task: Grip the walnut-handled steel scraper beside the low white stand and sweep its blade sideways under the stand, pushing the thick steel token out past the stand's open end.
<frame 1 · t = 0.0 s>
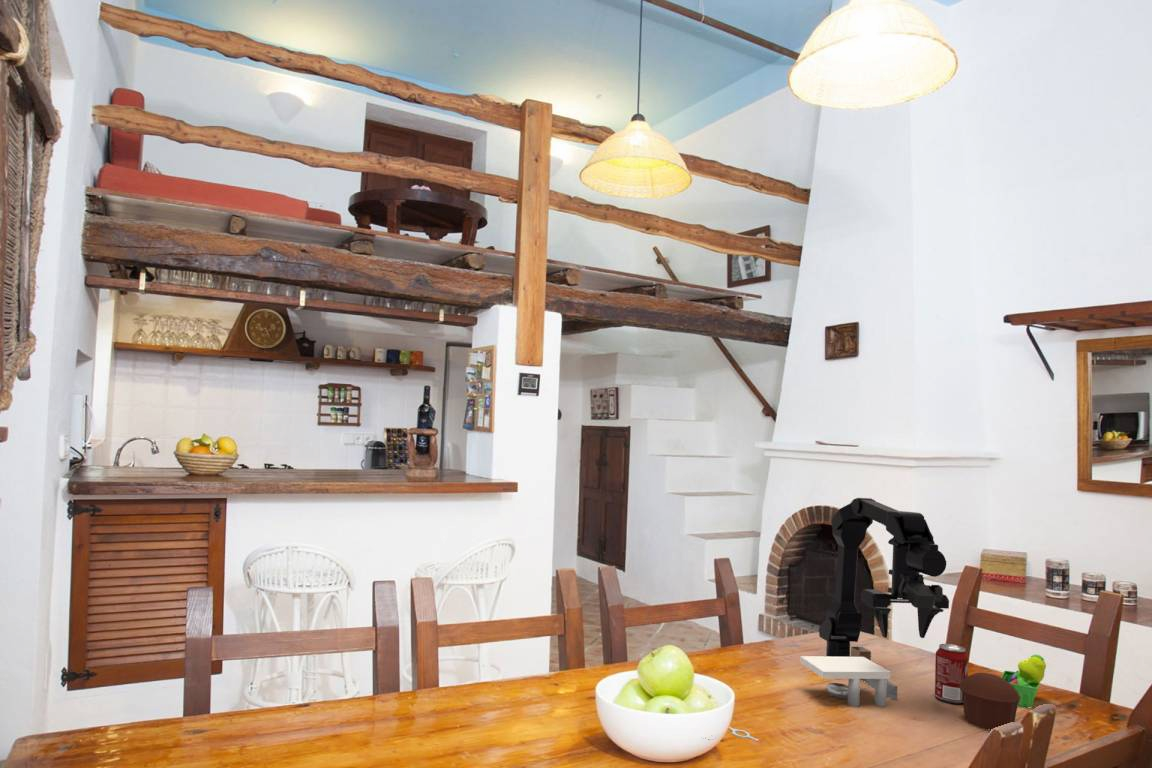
hand: (903, 637, 173), 15 cm above the table, tool pointing down, fingers open, 9 cm apart
green toy figure: (1022, 702, 178), on the table
soda can: (950, 700, 176), on the table
muffin: (988, 724, 163), on the table
scraper: (859, 677, 189), on the table
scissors: (712, 725, 154), on the table
token: (838, 695, 176), on the table
low stand: (842, 697, 174), on the table
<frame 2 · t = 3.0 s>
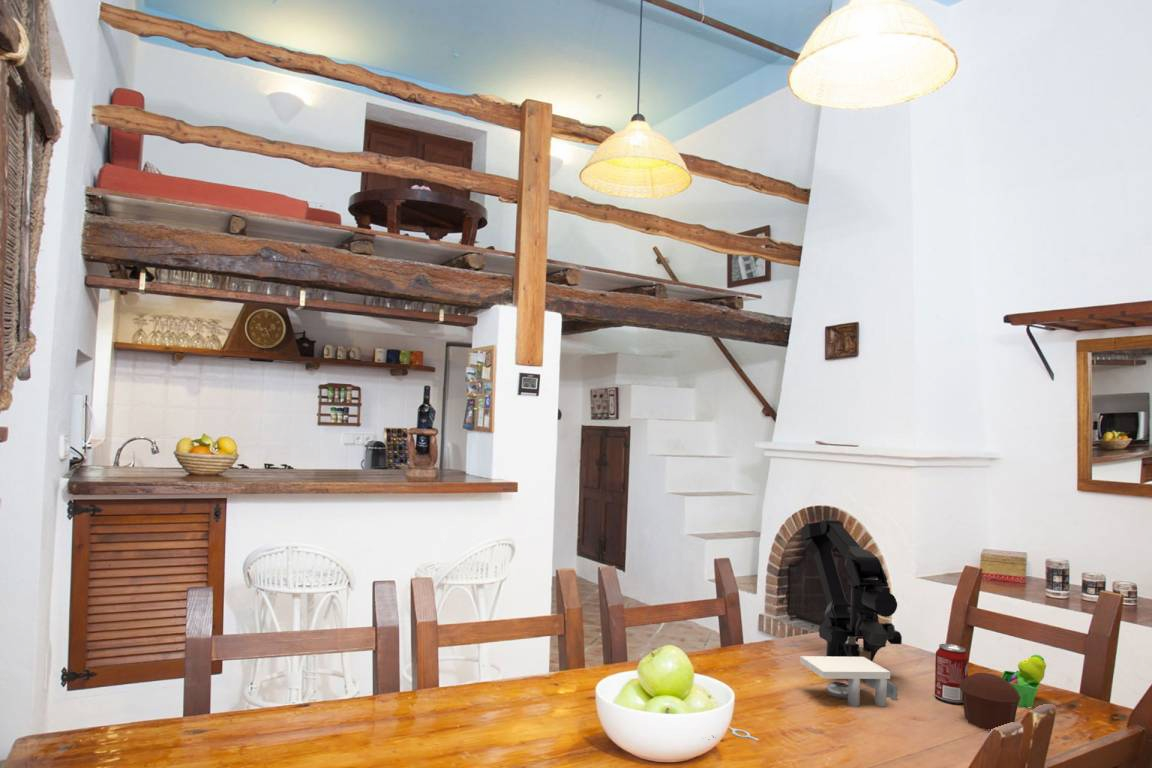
hand: (860, 670, 189), 2 cm above the table, tool pointing down, fingers closed on scraper, 3 cm apart
scraper: (859, 677, 189), on the table, touching gripper
everything else where it was.
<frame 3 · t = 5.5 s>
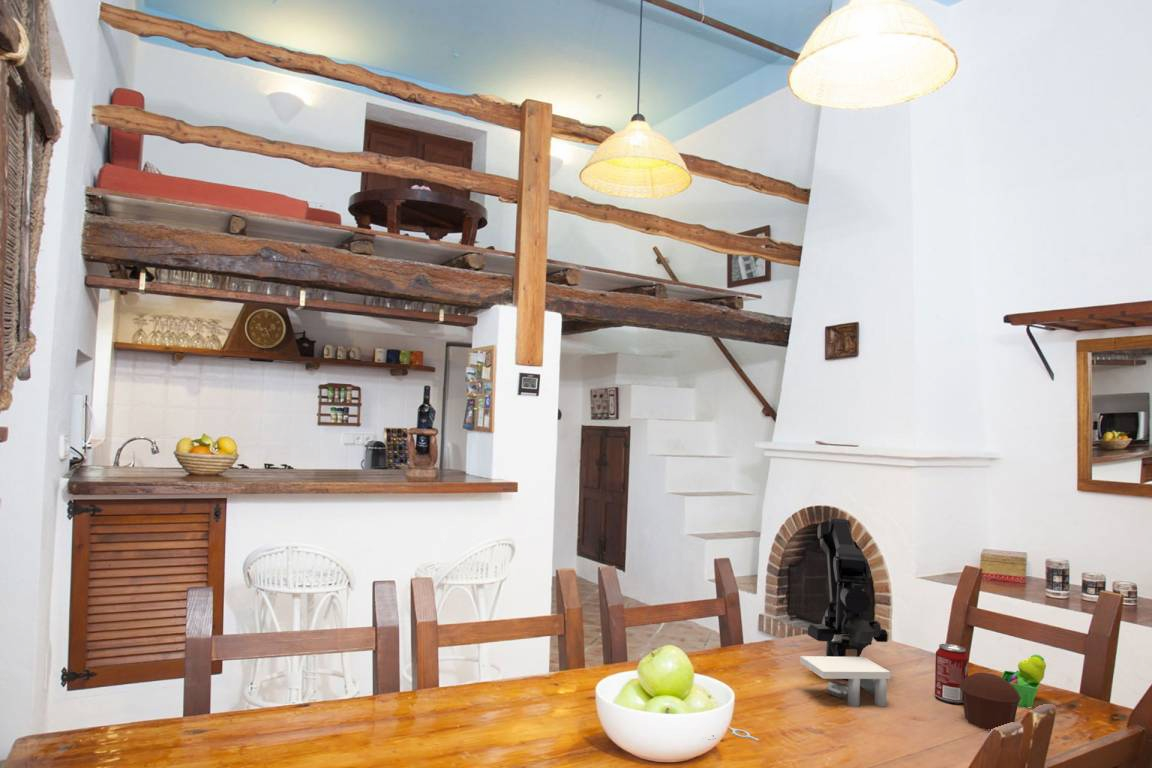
hand: (846, 668, 188), 2 cm above the table, tool pointing down, fingers closed on scraper, 3 cm apart
scraper: (846, 675, 188), on the table, touching gripper
everything else where it was.
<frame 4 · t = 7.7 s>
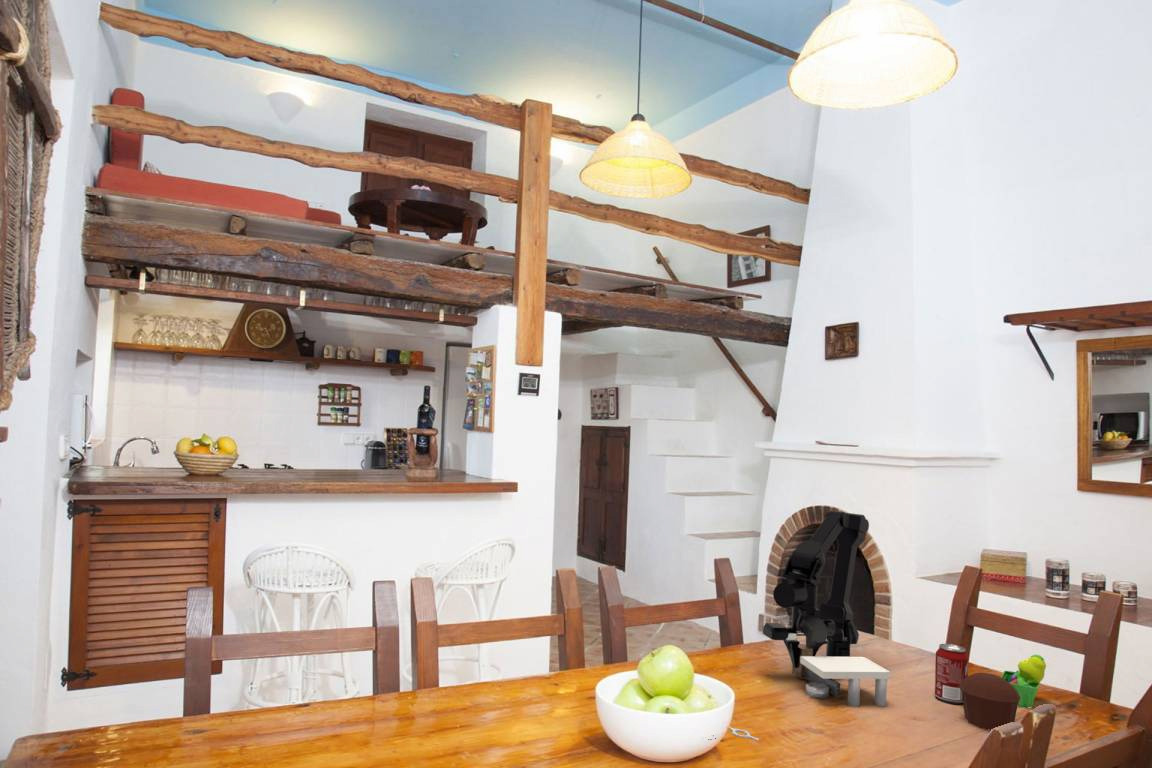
hand: (801, 667, 186), 2 cm above the table, tool pointing down, fingers closed on scraper, 3 cm apart
scraper: (802, 675, 186), point 1 cm above the table, touching gripper
token: (817, 695, 174), on the table
everything else where it was.
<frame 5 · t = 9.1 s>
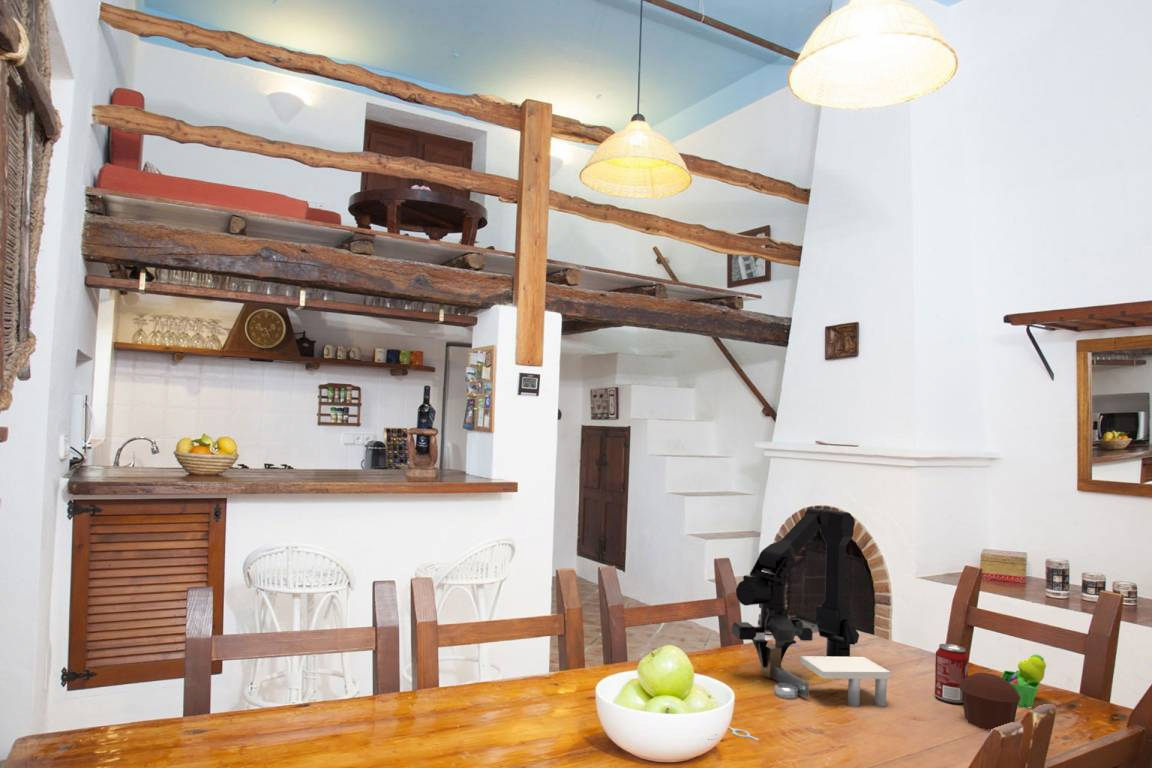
hand: (770, 667, 185), 2 cm above the table, tool pointing down, fingers closed on scraper, 3 cm apart
scraper: (770, 675, 185), point 1 cm above the table, touching gripper, token
token: (786, 695, 173), on the table, touching scraper
everything else where it was.
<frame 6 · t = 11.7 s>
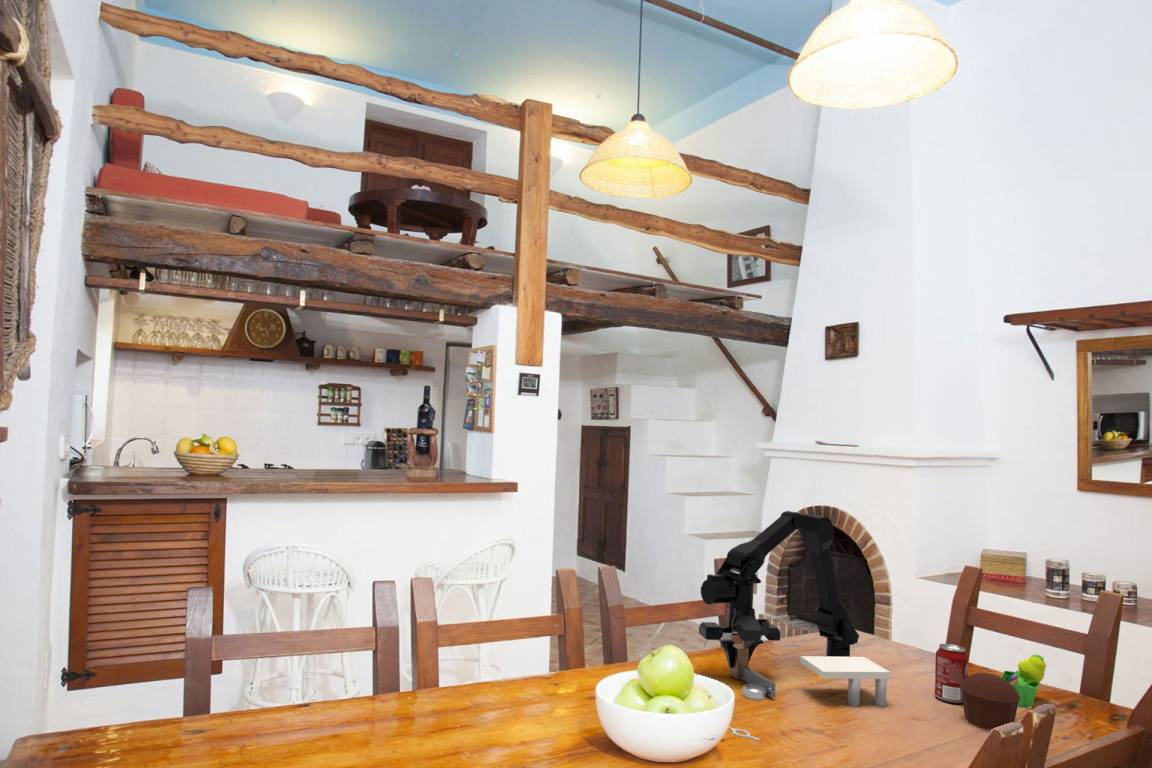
hand: (737, 667, 184), 2 cm above the table, tool pointing down, fingers closed on scraper, 3 cm apart
scraper: (738, 675, 183), on the table, touching gripper
token: (753, 696, 171), on the table
everything else where it was.
when the fingers open (2 cm above the table, at t = 12.7 s): scraper stays where it is, on the table.
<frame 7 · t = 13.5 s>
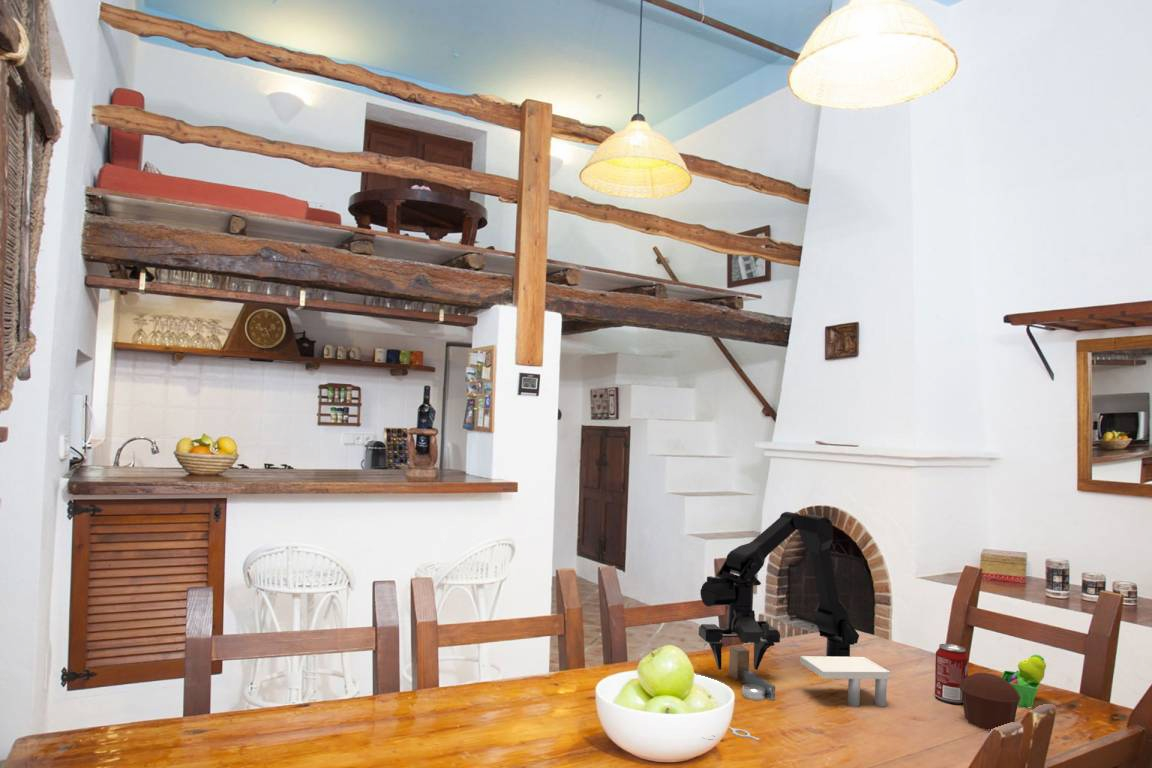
hand: (737, 669, 184), 2 cm above the table, tool pointing down, fingers open, 9 cm apart
scraper: (738, 677, 183), on the table
everything else where it was.
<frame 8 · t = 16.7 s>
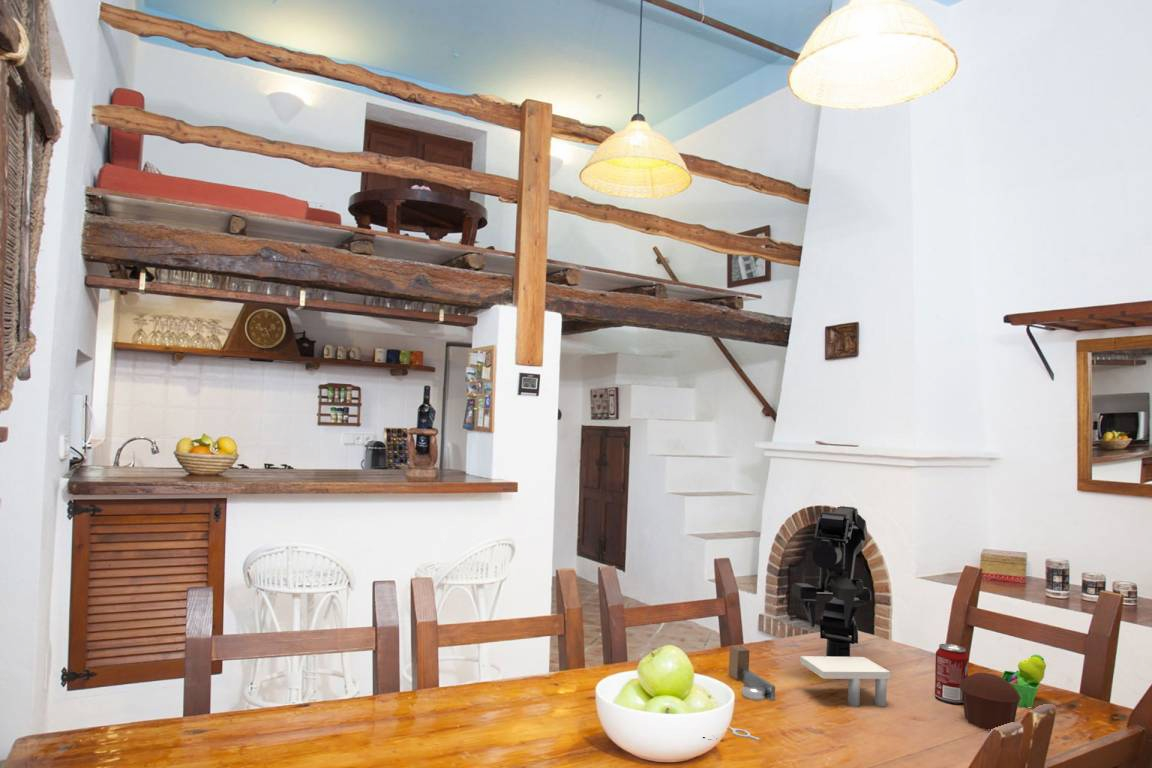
hand: (829, 627, 189), 12 cm above the table, tool pointing down, fingers open, 9 cm apart
nothing on the table moved.
at the end: token inside the target area (0.4 cm from its centre), on the table; token moved 21.2 cm from its start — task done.
